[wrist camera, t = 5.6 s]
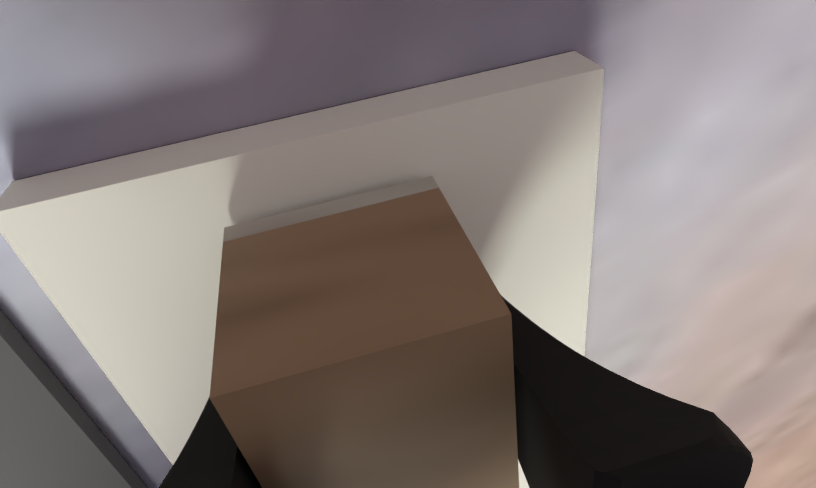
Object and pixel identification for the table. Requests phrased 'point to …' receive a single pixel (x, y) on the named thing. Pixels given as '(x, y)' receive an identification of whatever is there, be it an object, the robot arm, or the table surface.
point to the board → (302, 187)
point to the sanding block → (365, 347)
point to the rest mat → (49, 428)
